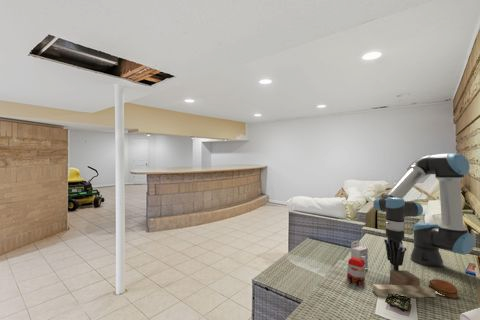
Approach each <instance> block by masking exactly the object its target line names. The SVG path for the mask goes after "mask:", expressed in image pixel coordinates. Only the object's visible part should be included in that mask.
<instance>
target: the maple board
mask: <svg viewBox="0 0 480 320" xmlns="http://www.w3.org/2000/svg"><path fill="white" fill-rule="evenodd" d="M372 292H373V293H374V294H375V295H377V296H378V297H388V296H387V295H388V294H399V295H403V296H409V297H408V298H424V297H435V298H436V294H435V290H433V289H432V288H430V287H429V286H428V285H420V286H417V285H392V284H378V283H377V284H375V283H373V285H372Z"/></svg>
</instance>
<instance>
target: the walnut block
mask: <svg viewBox="0 0 480 320" xmlns="http://www.w3.org/2000/svg"><path fill="white" fill-rule="evenodd" d="M390 282H391V283H392V284H393V285H417V286H421V278H420V277H418V276H416V275H414V274H413V273H411V272H410V271H408V270H406V269H405V270H400V269H399V270H391V269H390V270H389V283H390ZM391 283H390V284H391ZM392 284H391V285H392Z"/></svg>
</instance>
